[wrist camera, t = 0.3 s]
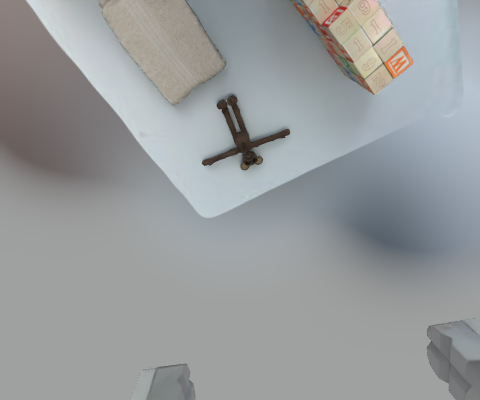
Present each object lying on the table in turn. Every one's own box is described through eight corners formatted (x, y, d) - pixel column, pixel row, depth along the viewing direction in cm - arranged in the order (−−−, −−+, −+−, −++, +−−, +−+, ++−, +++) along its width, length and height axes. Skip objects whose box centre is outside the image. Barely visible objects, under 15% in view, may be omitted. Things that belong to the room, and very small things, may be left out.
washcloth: (155, -51, 43) (152, -53, 40) (229, 63, 52) (230, 67, 49) (95, 5, 46) (88, 6, 44) (175, 103, 55) (173, 109, 53)
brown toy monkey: (276, 81, 51) (299, 157, 58) (272, 77, 55) (294, 149, 62) (178, 120, 54) (211, 189, 60) (181, 114, 57) (212, 179, 64)
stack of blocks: (266, -32, 45) (281, -38, 35) (299, -72, 43) (326, -90, 33) (345, 76, 54) (375, 96, 44) (376, 48, 52) (415, 63, 42)
